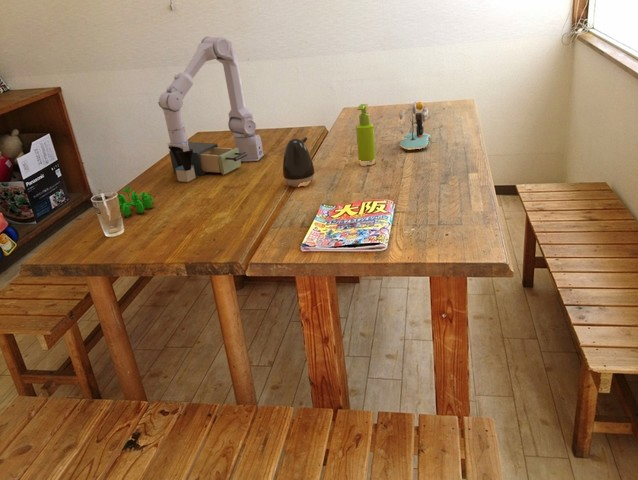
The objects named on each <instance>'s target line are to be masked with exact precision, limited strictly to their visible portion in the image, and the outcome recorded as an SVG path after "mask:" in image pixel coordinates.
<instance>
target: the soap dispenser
mask: <svg viewBox="0 0 638 480" xmlns="http://www.w3.org/2000/svg"><path fill="white" fill-rule="evenodd" d="M368 105H369V104H368V103H361V104H360V105H358V107H357V108H356V110H357V111H361V113H360V114H359V115H358V117H359V120H358V121H359V124H357V125H356V126H355V128H356V130H355V131H356V143H357V144H356V145H357V156H358V161H359V160H361V161H370V160H373V159H375V158H376V157H377V155H376V141H375V140H376V139H375V126H374V125H375V124H373V123H371V122H370V119H371V118H370V114H369V113H367V107H369V106H368ZM376 159H377V158H376Z"/></svg>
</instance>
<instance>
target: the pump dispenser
mask: <svg viewBox="0 0 638 480" xmlns="http://www.w3.org/2000/svg"><path fill="white" fill-rule="evenodd" d="M307 141H308V137H307V136H304V138H302V139H300V138H297V137H293V138H291V139H290V140H289V141H288V142H287V143H286V146H285V149H284V153H283V154H284V155H283V161H282V177H283V178H284V180H285V182H286V183H287V185H288V186H290V187H292V188H296V189H297V187H298V185H299V184H300V183H303V182H307V181H310V180H312V179H313V180H314V175H315V167H314V162H313V159H312V156H311V153H310V151H309V150H308V147H307V146H306V142H307ZM313 180H312V181H313Z"/></svg>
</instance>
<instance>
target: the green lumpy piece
mask: <svg viewBox="0 0 638 480" xmlns="http://www.w3.org/2000/svg"><path fill="white" fill-rule="evenodd" d="M130 191H132V188H131V187H126V188H124V189H123V192H124V193H127V196H128V201H129V202H128V201H127V198H126V197H125V196H124V194H122V193H120V194H118V195H117V198H119V199H118V200H119V202H118V203H119V204H118V205H119V209H120V212H121V213H123V215H124V216H125V217H126V218H128V217H130V215H131V213H132V212H131V208H130V207H131V206H134V207H135V209H136V212H137V213H139V214H144V212H145V209H148V210H150V209H152V208H153V207H154V205H155V199H154V198H153V197H152V195H151V193H150V192H148V191H143V192H141V193H140V194H139V195H138V193H137V191H135V190H133V191H132V193H131V195H130V193H129V192H130ZM152 203H153V204H152Z"/></svg>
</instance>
